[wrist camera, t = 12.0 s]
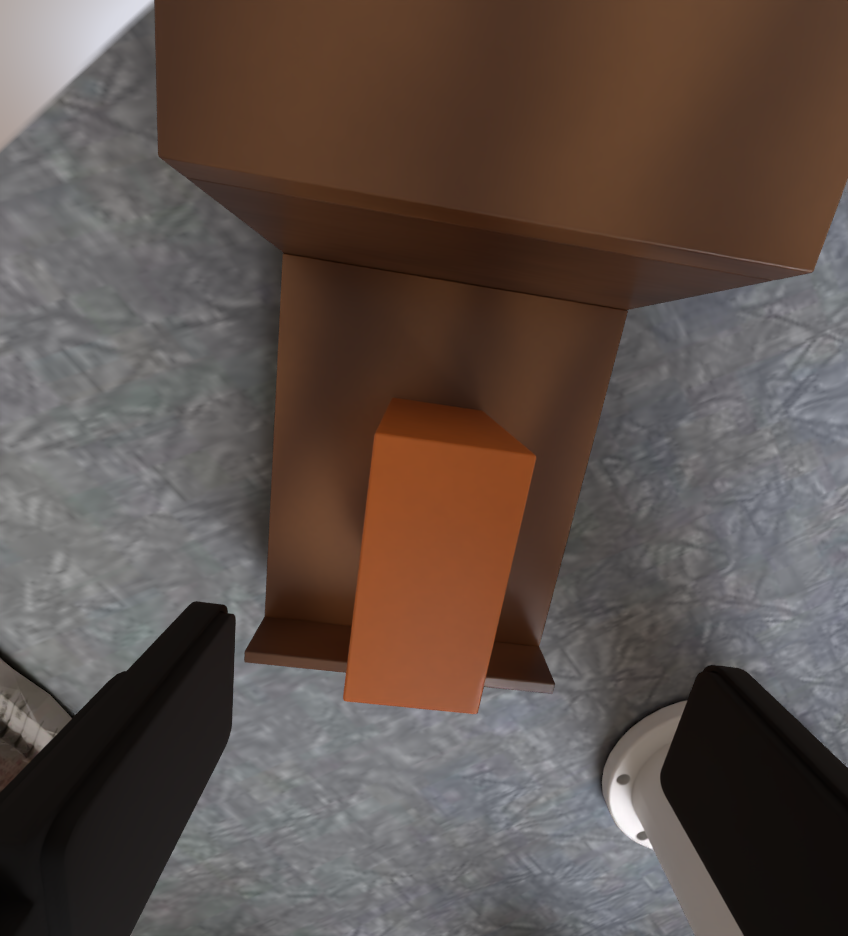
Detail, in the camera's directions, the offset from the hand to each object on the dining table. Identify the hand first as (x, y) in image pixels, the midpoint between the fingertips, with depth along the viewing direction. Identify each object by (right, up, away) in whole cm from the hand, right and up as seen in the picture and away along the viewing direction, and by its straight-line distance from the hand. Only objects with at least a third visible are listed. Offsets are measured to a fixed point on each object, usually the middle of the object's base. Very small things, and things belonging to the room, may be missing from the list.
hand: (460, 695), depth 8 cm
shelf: (0, +7, +13) cm, 14 cm away
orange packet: (-1, +3, +10) cm, 11 cm away
